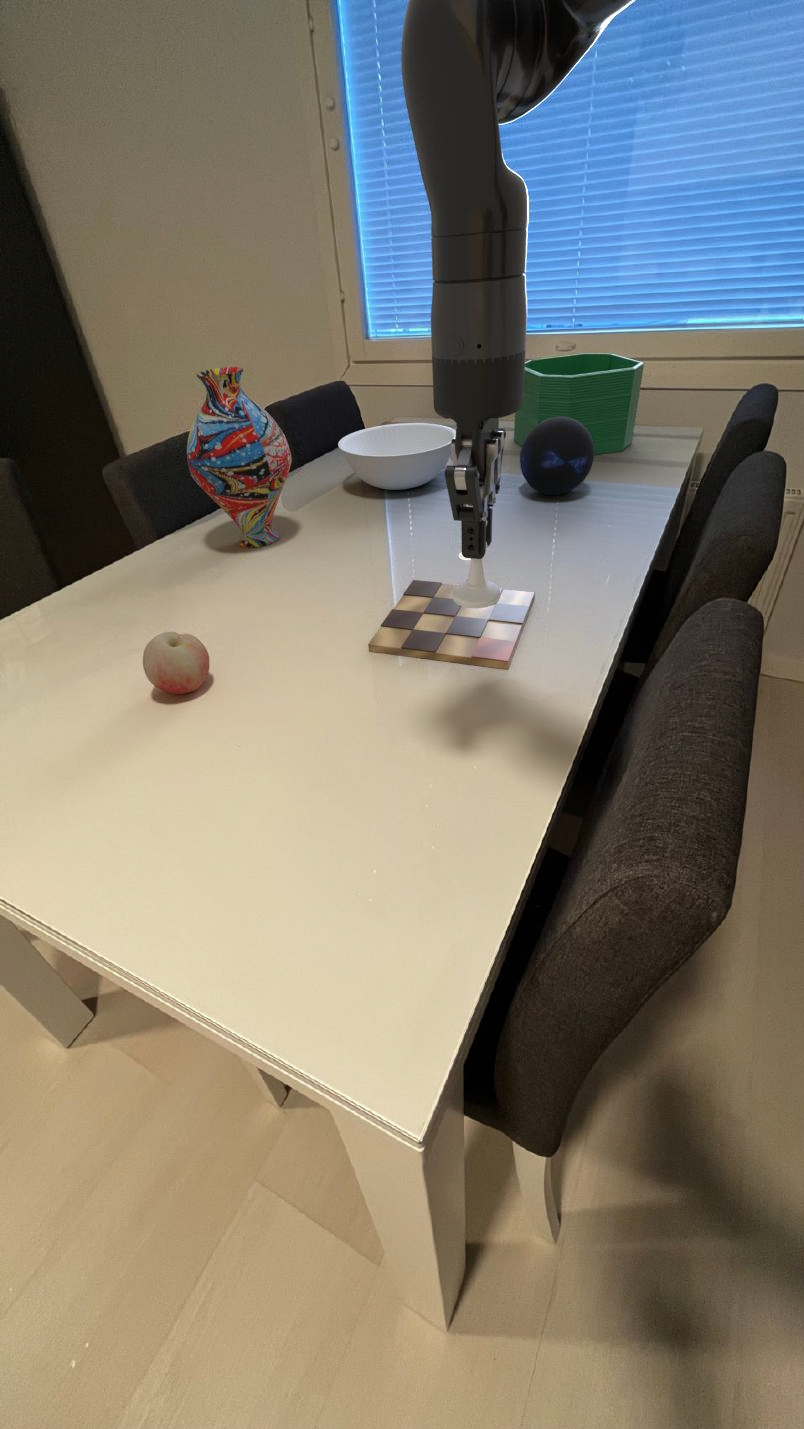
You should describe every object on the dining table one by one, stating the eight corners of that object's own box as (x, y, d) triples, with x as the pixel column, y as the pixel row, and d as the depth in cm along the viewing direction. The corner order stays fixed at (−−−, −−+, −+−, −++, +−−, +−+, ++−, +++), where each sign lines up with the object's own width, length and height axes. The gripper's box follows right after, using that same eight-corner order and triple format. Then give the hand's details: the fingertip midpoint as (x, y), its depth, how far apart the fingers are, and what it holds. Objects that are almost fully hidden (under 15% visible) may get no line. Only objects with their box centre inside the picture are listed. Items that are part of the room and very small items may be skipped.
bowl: (321, 496, 140) (314, 451, 133) (381, 461, 157) (377, 420, 151) (425, 509, 128) (422, 460, 122) (477, 470, 146) (477, 426, 140)
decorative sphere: (508, 487, 135) (511, 414, 126) (572, 478, 137) (579, 405, 127) (532, 509, 123) (537, 431, 114) (601, 499, 125) (612, 421, 116)
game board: (534, 599, 94) (535, 590, 93) (507, 669, 80) (508, 661, 79) (413, 587, 100) (413, 579, 99) (368, 651, 86) (367, 643, 85)
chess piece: (502, 586, 64) (506, 491, 57) (497, 609, 60) (500, 510, 54) (456, 585, 65) (454, 491, 58) (448, 607, 61) (446, 509, 55)
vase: (270, 515, 132) (237, 358, 114) (323, 534, 121) (296, 364, 103) (194, 543, 123) (144, 378, 104) (244, 567, 111) (198, 386, 93)
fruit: (200, 706, 78) (182, 654, 73) (145, 703, 80) (123, 652, 75) (224, 671, 85) (209, 621, 80) (172, 669, 86) (154, 620, 81)
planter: (642, 448, 150) (656, 365, 138) (543, 462, 147) (549, 379, 135) (594, 424, 170) (603, 350, 158) (506, 437, 167) (509, 362, 155)
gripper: (508, 362, 42) (500, 586, 53) (538, 332, 52) (527, 526, 63) (407, 364, 44) (419, 579, 55) (455, 335, 54) (457, 522, 65)
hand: (477, 550), depth 59 cm, fingers closed on chess piece
